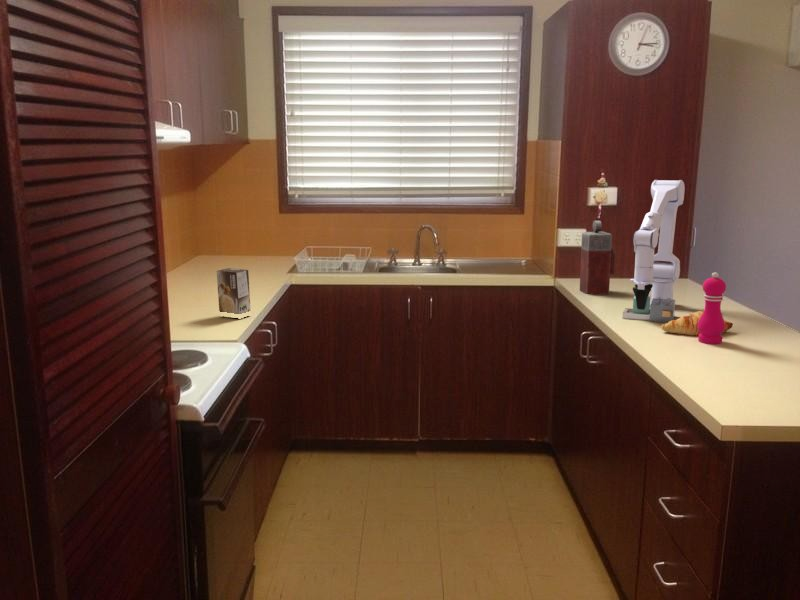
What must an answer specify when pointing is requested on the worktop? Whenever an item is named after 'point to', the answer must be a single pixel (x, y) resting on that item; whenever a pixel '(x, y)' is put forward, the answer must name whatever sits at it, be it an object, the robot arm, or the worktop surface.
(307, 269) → the worktop surface
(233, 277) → the coffee box
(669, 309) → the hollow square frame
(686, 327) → the croissant
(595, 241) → the red canister
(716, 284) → the pepper mill
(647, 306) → the teal block with knob
